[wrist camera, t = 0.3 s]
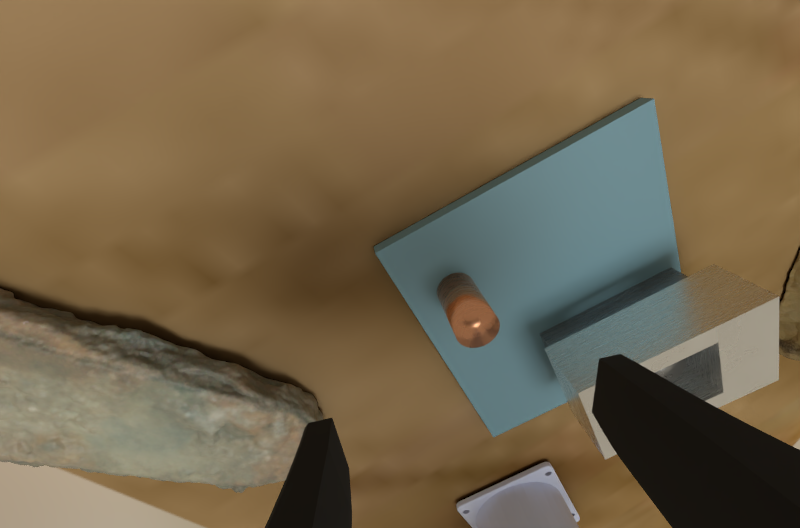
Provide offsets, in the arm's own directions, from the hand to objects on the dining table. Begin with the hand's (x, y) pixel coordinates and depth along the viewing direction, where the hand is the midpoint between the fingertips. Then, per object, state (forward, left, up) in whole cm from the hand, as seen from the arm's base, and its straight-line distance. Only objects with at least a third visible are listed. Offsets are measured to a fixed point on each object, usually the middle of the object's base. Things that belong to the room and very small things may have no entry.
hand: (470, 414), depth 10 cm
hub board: (-7, -6, -10) cm, 13 cm away
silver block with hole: (-10, -8, -7) cm, 14 cm away
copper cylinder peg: (-3, -1, -10) cm, 10 cm away
